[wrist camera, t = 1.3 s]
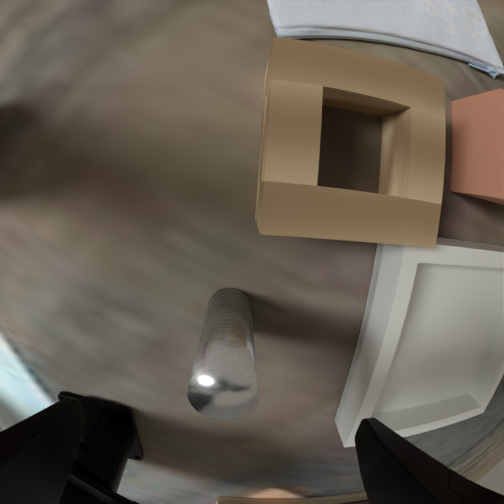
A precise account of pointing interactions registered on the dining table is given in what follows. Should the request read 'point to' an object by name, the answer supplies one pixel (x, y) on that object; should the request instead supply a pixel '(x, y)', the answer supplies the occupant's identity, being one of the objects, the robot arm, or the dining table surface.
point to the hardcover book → (299, 500)
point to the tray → (427, 338)
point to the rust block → (479, 146)
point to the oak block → (350, 147)
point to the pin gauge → (225, 359)
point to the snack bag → (395, 26)
